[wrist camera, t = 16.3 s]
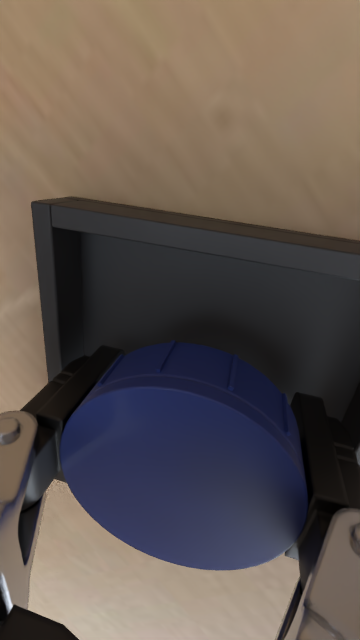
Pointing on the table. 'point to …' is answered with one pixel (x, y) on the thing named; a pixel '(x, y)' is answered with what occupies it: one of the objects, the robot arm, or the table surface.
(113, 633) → the table surface
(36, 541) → the robot arm
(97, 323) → the tray
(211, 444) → the lid
